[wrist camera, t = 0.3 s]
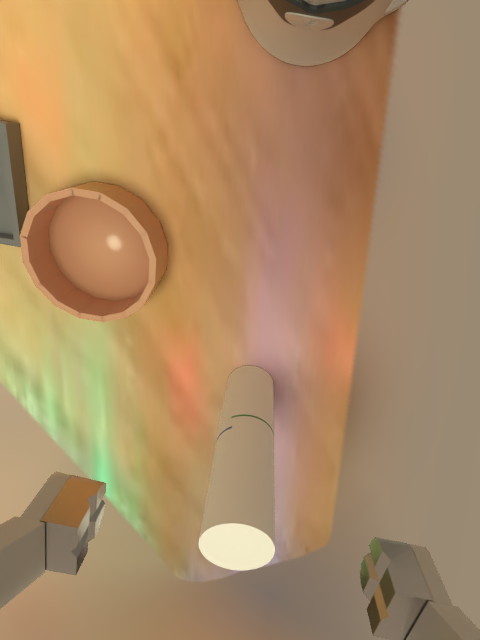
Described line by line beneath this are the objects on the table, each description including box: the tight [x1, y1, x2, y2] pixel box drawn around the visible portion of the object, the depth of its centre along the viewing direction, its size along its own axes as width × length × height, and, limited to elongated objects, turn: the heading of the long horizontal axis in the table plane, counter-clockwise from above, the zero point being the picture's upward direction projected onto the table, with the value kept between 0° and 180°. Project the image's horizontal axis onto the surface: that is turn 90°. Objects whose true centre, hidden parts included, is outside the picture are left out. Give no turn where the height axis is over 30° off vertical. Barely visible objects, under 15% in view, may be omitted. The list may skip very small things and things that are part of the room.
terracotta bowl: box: [20, 181, 168, 322], centre depth 46 cm, size 16×16×6 cm
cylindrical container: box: [199, 366, 275, 570], centre depth 46 cm, size 7×7×25 cm
